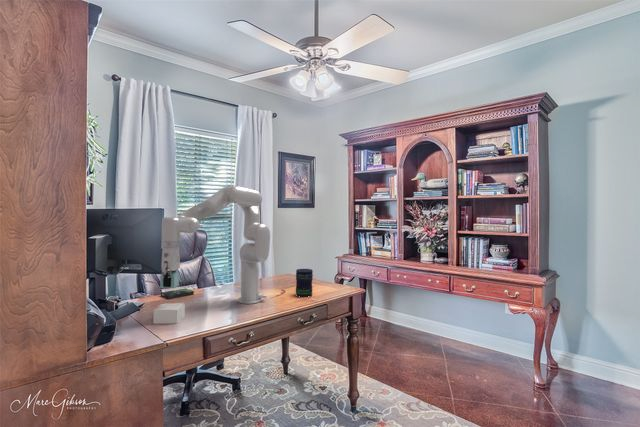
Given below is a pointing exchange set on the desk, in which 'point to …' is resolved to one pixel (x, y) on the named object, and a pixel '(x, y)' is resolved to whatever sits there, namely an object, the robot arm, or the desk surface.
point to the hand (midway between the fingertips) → (169, 284)
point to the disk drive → (177, 293)
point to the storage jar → (304, 282)
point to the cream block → (169, 313)
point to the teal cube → (174, 280)
